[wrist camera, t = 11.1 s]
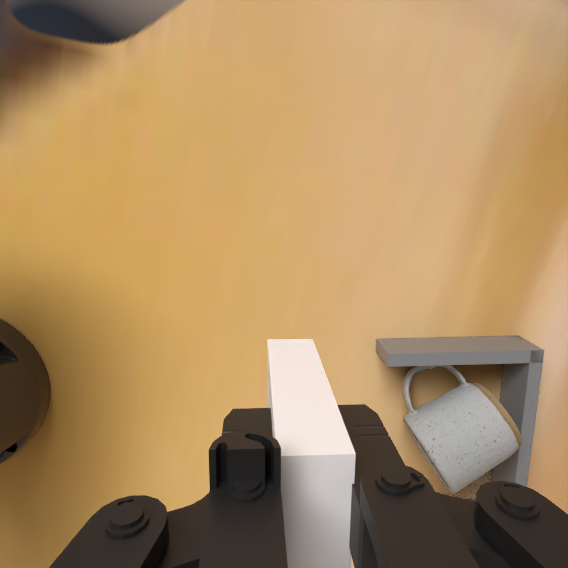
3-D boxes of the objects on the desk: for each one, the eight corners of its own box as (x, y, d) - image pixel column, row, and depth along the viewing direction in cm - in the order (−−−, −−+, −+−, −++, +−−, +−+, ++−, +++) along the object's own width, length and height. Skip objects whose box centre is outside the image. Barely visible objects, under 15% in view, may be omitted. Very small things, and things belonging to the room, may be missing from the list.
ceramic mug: (496, 421, 46) (543, 465, 38) (428, 461, 46) (460, 513, 39) (448, 338, 44) (488, 368, 36) (377, 382, 44) (401, 420, 37)
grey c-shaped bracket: (368, 513, 47) (378, 542, 43) (376, 338, 43) (388, 353, 39) (498, 507, 48) (520, 535, 44) (518, 335, 44) (544, 350, 40)
